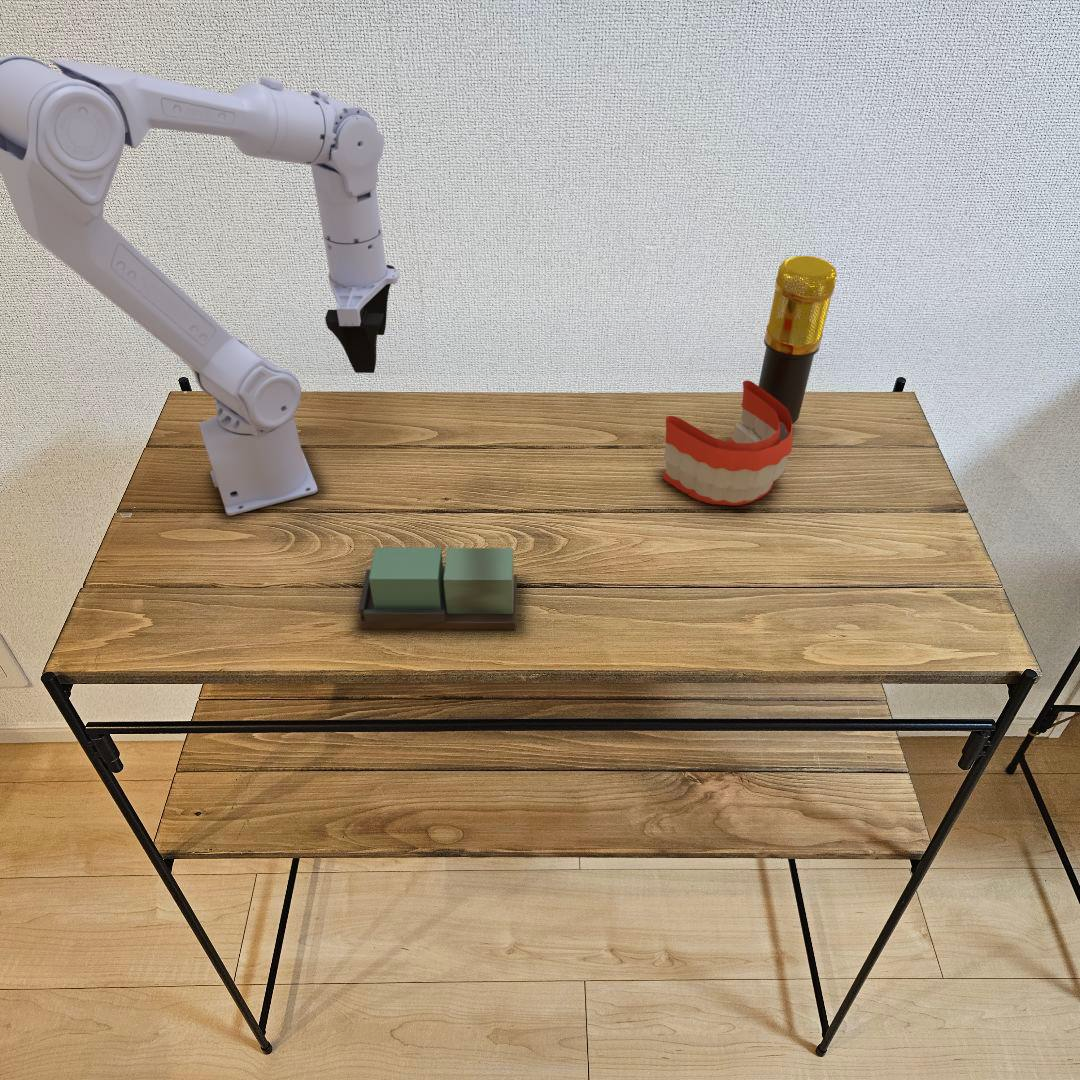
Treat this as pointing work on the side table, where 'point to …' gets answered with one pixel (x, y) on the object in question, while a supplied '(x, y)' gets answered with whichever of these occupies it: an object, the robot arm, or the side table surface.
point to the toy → (731, 453)
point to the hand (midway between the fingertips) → (370, 351)
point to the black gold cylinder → (796, 328)
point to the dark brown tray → (458, 595)
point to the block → (407, 578)
